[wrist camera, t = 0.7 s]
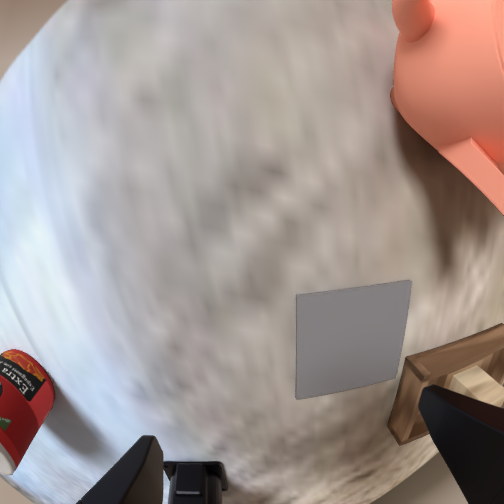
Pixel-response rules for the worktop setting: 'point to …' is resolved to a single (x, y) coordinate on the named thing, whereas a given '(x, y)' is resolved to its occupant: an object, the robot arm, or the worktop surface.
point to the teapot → (455, 83)
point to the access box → (442, 376)
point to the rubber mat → (349, 337)
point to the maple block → (478, 386)
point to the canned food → (21, 405)
